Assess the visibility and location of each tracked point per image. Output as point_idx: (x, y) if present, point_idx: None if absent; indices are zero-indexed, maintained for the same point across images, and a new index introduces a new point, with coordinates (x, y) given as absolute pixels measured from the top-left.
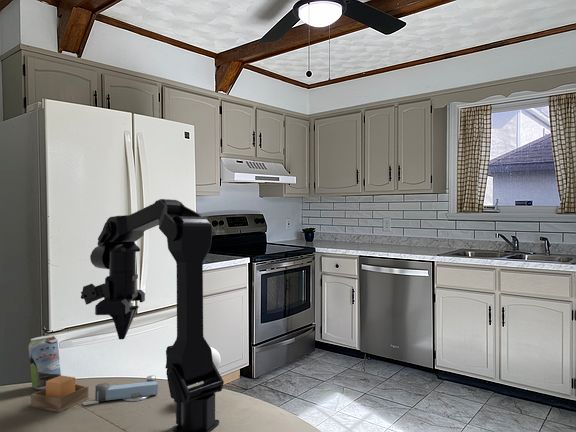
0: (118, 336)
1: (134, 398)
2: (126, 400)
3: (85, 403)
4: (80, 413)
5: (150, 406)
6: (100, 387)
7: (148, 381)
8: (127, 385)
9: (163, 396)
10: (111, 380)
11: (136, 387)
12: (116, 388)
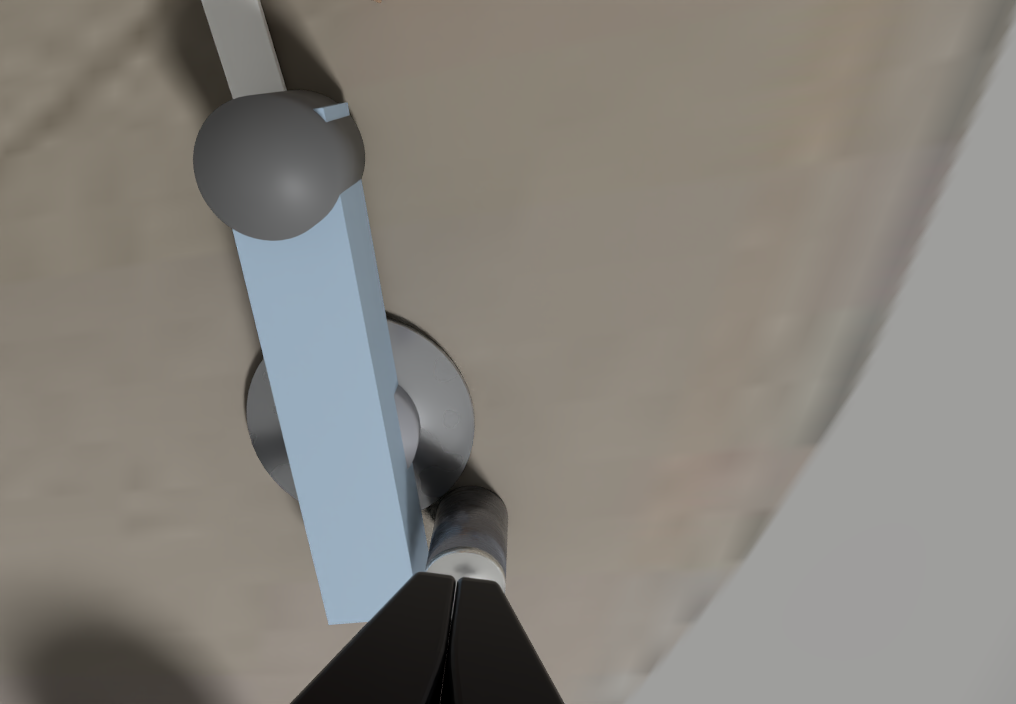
0: (387, 605)
1: None
2: (263, 359)
3: (218, 8)
4: (18, 9)
5: (142, 529)
6: (199, 159)
7: (430, 551)
8: (335, 393)
9: None
10: (866, 147)
11: (294, 467)
12: (266, 303)
